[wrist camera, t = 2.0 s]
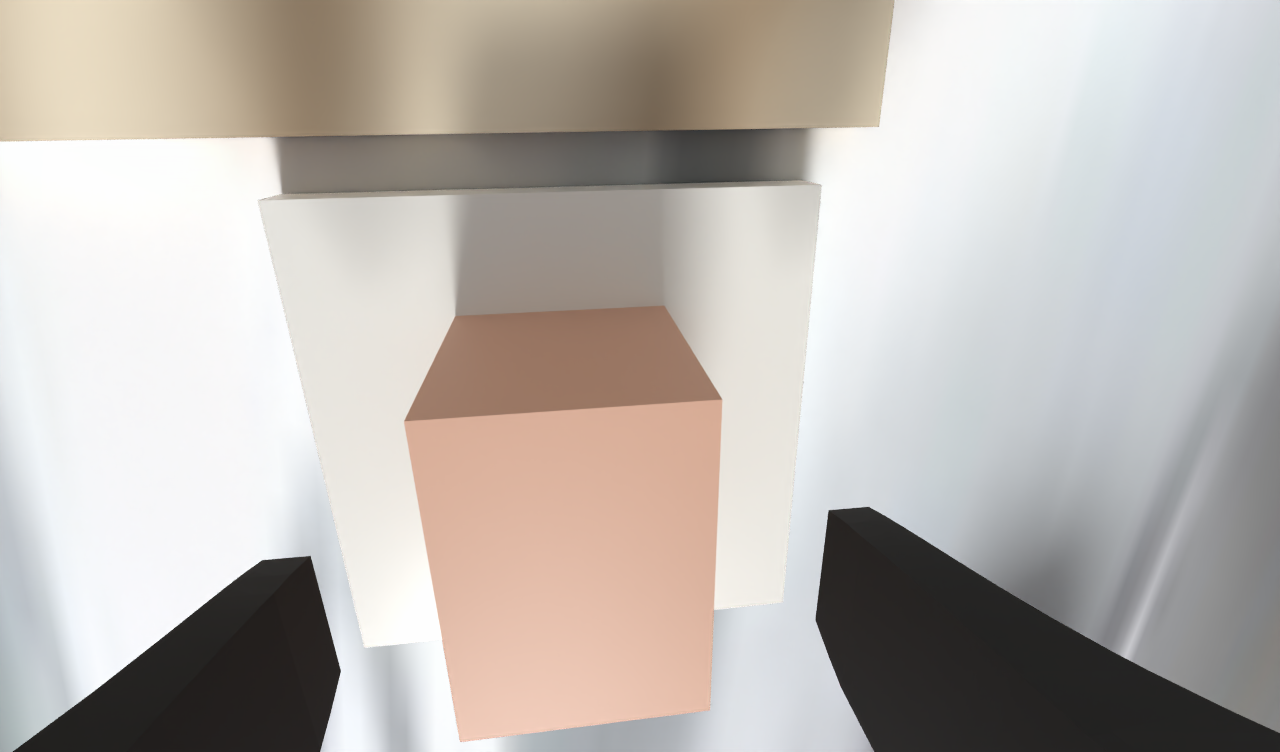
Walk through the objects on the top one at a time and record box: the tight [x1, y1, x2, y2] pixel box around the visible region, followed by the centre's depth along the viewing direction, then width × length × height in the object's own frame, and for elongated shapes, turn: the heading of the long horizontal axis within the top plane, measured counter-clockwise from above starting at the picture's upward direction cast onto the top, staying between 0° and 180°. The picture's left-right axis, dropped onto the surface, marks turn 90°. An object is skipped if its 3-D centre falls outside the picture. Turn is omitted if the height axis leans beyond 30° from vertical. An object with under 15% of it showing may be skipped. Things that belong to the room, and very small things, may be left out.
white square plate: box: [258, 180, 822, 648], centre depth 14 cm, size 10×10×1 cm
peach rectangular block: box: [404, 306, 722, 742], centre depth 11 cm, size 4×6×4 cm
